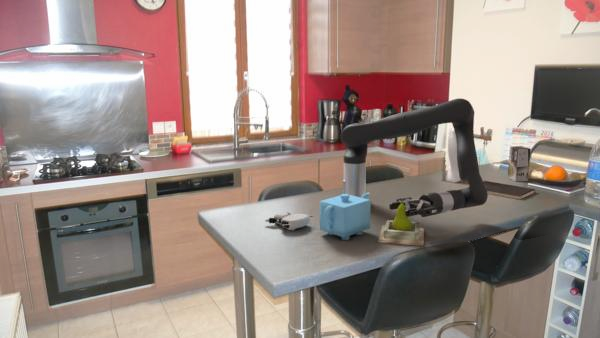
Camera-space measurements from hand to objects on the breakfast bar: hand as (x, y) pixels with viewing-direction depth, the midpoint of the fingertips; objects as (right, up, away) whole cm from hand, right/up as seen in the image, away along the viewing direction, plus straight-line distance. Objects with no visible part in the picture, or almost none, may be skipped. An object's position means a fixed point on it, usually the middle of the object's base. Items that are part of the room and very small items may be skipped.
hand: (397, 209), depth 147 cm
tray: (+2, -9, +3) cm, 10 cm away
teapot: (-15, -9, +8) cm, 19 cm away
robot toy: (-36, -8, +16) cm, 40 cm away
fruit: (+2, -8, +3) cm, 9 cm away
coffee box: (+77, +8, +77) cm, 109 cm away
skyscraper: (+44, +7, +77) cm, 89 cm away
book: (+59, +3, +56) cm, 81 cm away
